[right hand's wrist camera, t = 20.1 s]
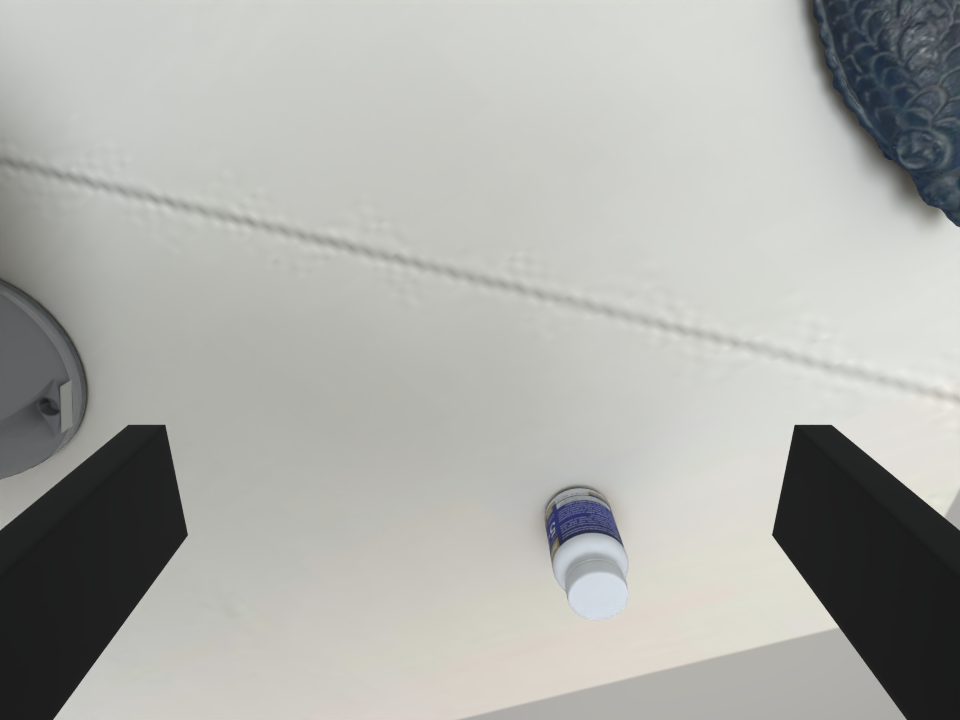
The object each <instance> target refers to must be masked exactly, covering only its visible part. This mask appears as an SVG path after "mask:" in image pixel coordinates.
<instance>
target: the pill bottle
mask: <svg viewBox="0 0 960 720" xmlns="http://www.w3.org/2000/svg"><path fill="white" fill-rule="evenodd" d="M545 525H546V531H547V537H548V543H549V549H550V555H551V561H552V567H553V572H554V576H555V579H556V581H557V582H558V584H559V585H560V587H561V588H562V589H563V590H564V591H566V594H567V598H568V602H569V605H570V607H571V609H572V610H573V611H574V612H575V613H576V614H577V615H579V616H581V617H583V618H585V619H589V620H603V619H607V618H610V617H613V616H614V615H616V614H618V613H619V612H620V611H621V610H622V609H623V608H624V607H625V605H626V603H627V601H628V597H629V591H628V587H627V583H626V580H625V578H626V576H627V573H628V558H627V554H626V551H625V548H624V546H623V543H622V540H621V537H620V534H619V531H618V529H617V525H616V523H615V520H614V516H613V513H612V510H611V507H610V505H609V503H608V502H607V500H606V499H605V498H604V497H603V496H602V495H600V494H599V493H597V492H595V491H593V490H590V489H584V488H576V489H570V490H567V491H564V492H562V493H560V494H559V495H557V496H556V497H555V498H554V499H553V500H552V501H551V502H550V504H549V505H548V507H547V509H546V513H545Z"/></svg>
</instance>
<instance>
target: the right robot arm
mask: <svg viewBox="0 0 960 720" xmlns="http://www.w3.org/2000/svg"><path fill="white" fill-rule="evenodd" d="M85 405H86V384H85V378H84V373H83V370H82V366H81V363H80V361H79V358H78V356H77V353H76V351H75V349H74V347H73V345H72V344H71V342H70V340H69V338H68V337H67V336H66V334H65V333H64V331H63V330H62V328H61V327H60V326H59V325H58V324H57V322H56V321H55V320H54V319H53V318H52V317H51V316H50V315H49V314H48V313H47V312H46V311H45V310H44V309H43V308H42V307H41V306H40V305H39V304H38V303H36V302H35V301H34V300H33V299H31V298H30V297H29V296H27V295H26V294H24V293H23V292H21V291H20V290H18V289H17V288H15V287H13V286H11V285H9V284H7V283H6V282H3V281H1V280H0V479H3V478H6V477H9V476H13V475H16V474H19V473H21V472H24V471H26V470H28V469H30V468H32V467H35V466H37V465H38V464H40V463H42V462H43V461H45V460H46V459H48V458H49V457H50V456H52V455H53V454H54V453H56V452H57V451H58V450H60V449H61V448H62V447H63V446H64V445H65V444H67V443H68V442H69V440H70V439H71V438H72V437H73V435H74V434H75V432H76V431H77V429H78V427H79V425H80V423H81V421H82V418H83V414H84V410H85ZM187 536H188V533H187V529H186V524H185V519H184V514H183V509H182V504H181V499H180V494H179V490H178V485H177V480H176V475H175V470H174V465H173V460H172V455H171V451H170V446H169V441H168V436H167V431H166V426H165V425H128V426H127V427H125V428H124V429H123V430H122V431H121V432H119V433H118V434H117V435H116V436H114V437H113V438H112V439H111V440H110V441H108V442H107V443H106V444H105V445H104V446H102V447H101V448H100V449H99V450H97V451H96V452H95V453H94V454H93V455H91V456H90V457H89V458H88V459H87V460H85V461H84V462H83V463H82V464H80V465H79V466H78V467H77V468H76V469H74V470H73V471H72V472H71V473H70V474H68V475H67V476H66V477H65V478H64V479H62V480H61V481H60V482H59V483H57V484H56V485H55V486H54V487H53V488H51V489H50V490H49V491H48V492H47V493H45V494H44V495H43V496H42V497H40V498H39V499H38V500H37V501H36V502H34V503H33V504H32V505H31V506H30V507H28V508H27V509H26V510H25V511H23V512H22V513H21V514H20V515H19V516H17V517H16V518H15V519H14V520H13V521H11V522H10V523H9V524H8V525H6V526H5V527H4V528H3V529H2V530H0V720H53V719H54V718H55V716H56V715H57V714H58V712H59V711H60V710H61V708H62V707H63V705H64V704H65V703H66V701H67V700H68V699H69V697H70V696H71V695H72V693H73V692H74V690H75V689H76V688H77V686H78V685H79V684H80V682H81V681H82V679H83V678H84V677H85V675H86V674H87V673H88V671H89V670H90V668H91V667H92V666H93V664H94V663H95V662H96V660H97V659H98V658H99V656H100V655H101V653H102V652H103V651H104V649H105V648H106V647H107V645H108V644H109V642H110V641H111V640H112V638H113V637H114V636H115V634H116V633H117V632H118V630H119V629H120V627H121V626H122V625H123V623H124V622H125V621H126V619H127V618H128V616H129V615H130V614H131V612H132V611H133V610H134V608H135V607H136V605H137V604H138V603H139V601H140V600H141V599H142V597H143V596H144V595H145V593H146V592H147V590H148V589H149V588H150V586H151V585H152V584H153V582H154V581H155V579H156V578H157V577H158V575H159V574H160V573H161V571H162V570H163V569H164V567H165V566H166V564H167V563H168V562H169V560H170V559H171V558H172V556H173V555H174V553H175V552H176V551H177V549H178V548H179V547H180V545H181V544H182V543H183V541H184V540H185V538H186V537H187ZM772 536H773V537H774V538H775V540H776V541H777V543H778V544H779V545H780V547H781V548H782V549H783V551H784V552H785V553H786V555H787V556H788V558H789V559H790V560H791V562H792V563H793V564H794V566H795V567H796V569H797V570H798V571H799V573H800V574H801V575H802V577H803V578H804V579H805V581H806V582H807V584H808V585H809V586H810V588H811V589H812V590H813V592H814V593H815V595H816V596H817V597H818V599H819V600H820V601H821V603H822V604H823V605H824V607H825V608H826V610H827V611H828V612H829V614H830V615H831V616H832V618H833V619H834V621H835V622H836V623H837V625H838V626H839V627H840V629H841V630H842V632H843V633H844V634H845V636H846V637H847V638H848V640H849V641H850V642H851V644H852V645H853V647H854V648H855V649H856V651H857V652H858V653H859V655H860V656H861V658H862V659H863V660H864V662H865V663H866V664H867V666H868V667H869V668H870V670H871V671H872V672H873V674H874V675H875V677H876V678H877V679H878V681H879V682H880V684H881V685H882V686H883V688H884V689H885V690H886V692H887V693H888V694H889V696H890V697H891V699H892V700H893V701H894V703H895V704H896V705H897V707H898V708H899V710H900V711H901V712H902V714H903V715H904V716H905V718H906V719H907V720H960V530H958V529H957V528H956V527H955V526H953V525H952V524H951V523H950V522H949V521H947V520H946V519H945V518H944V517H943V516H941V515H940V514H939V513H938V512H937V511H935V510H934V509H933V508H932V507H930V506H929V505H928V504H927V503H926V502H924V501H923V500H922V499H921V498H920V497H918V496H917V495H916V494H915V493H913V492H912V491H911V490H910V489H909V488H907V487H906V486H905V485H904V484H903V483H901V482H900V481H899V480H898V479H896V478H895V477H894V476H893V475H892V474H890V473H889V472H888V471H887V470H886V469H884V468H883V467H882V466H881V465H880V464H878V463H877V462H876V461H875V460H873V459H872V458H871V457H870V456H869V455H867V454H866V453H865V452H864V451H863V450H861V449H860V448H859V447H858V446H856V445H855V444H854V443H853V442H852V441H850V440H849V439H848V438H847V437H846V436H844V435H843V434H842V433H841V432H839V431H838V430H837V429H836V428H835V427H833V426H832V425H795V426H794V431H793V436H792V441H791V446H790V451H789V455H788V460H787V465H786V470H785V475H784V480H783V485H782V490H781V494H780V499H779V504H778V509H777V514H776V519H775V524H774V529H773V533H772Z"/></svg>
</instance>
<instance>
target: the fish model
mask: <svg viewBox="0 0 960 720" xmlns="http://www.w3.org/2000/svg"><path fill="white" fill-rule="evenodd" d="M813 7H814V17H815V18H816V19H817V21H818V23H819V28H820V35H819V37H820V39H821V41H822V43H823V44H824V46H825V47H826V51H825V58H826V62H827V66H828V67H829V69H830V70H831V71H832V72H833V74H834V80H833V85H834V87H835V88H836V89H837V90H838V91H839V92H840V93H841V94H842V96H843V99H844V103H845V105H846V106H847V107H848V108H849V109H850V110H851V111H853V112H854V113H856V115H857V116H858V121H859V123H860V125H861V126H862V127H864V128H865V129H866V130H867V131H868V132H869V133H870V134H871V135H872V136H873V137H874V138H875V140H876V142H877V143H878V145H879V146H878V147H879V148H880V149H881V150H883V153H884V156H885V157H886V158H888V159H889V160H894V161H895V162H896V163H897V164H898V165H900V166H901V167H902V168H903V169H905V170H906V171H908V172H909V173H910V174H911V176H912V178H913V180H914V182H915V184H916V187H917V190H918V192H919V195H920V196H921V197H922V199H923V201H925V202H926V203H927V205H930V206H934V207H937V208H940V209H941V210H942V211H943V212H944V213H945V215H946V216H947V218H948V219H949V220H951V221H952V222H953V223H954V224H955V225H956V226H958V227H960V0H814V5H813Z"/></svg>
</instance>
